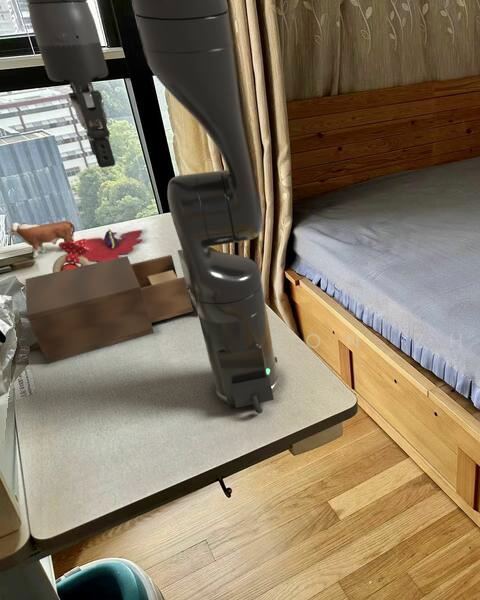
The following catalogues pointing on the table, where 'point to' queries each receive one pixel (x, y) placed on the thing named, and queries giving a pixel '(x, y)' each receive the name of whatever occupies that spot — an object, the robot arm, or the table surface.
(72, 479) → the table surface
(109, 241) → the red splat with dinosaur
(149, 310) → the drawer
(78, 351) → the cabinet
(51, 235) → the bull figurine
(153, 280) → the beech block
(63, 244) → the bird rattle
